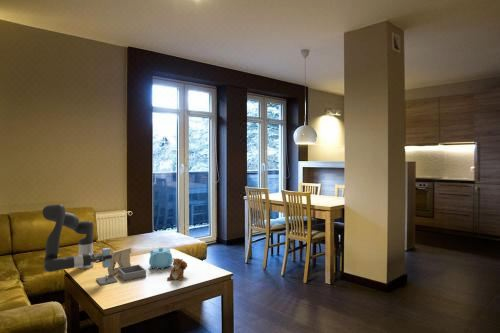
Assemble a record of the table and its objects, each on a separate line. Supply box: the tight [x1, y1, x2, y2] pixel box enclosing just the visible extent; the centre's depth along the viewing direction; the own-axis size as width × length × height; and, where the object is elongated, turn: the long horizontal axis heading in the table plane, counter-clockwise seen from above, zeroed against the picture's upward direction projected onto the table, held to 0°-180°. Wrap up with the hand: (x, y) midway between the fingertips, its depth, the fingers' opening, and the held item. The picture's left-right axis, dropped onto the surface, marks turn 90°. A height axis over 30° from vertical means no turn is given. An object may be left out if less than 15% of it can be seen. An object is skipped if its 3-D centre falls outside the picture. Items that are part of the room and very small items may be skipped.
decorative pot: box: [148, 247, 174, 270], centre depth 252 cm, size 16×16×14 cm
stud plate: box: [96, 274, 118, 286], centre depth 223 cm, size 12×10×4 cm
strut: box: [101, 247, 111, 269], centre depth 223 cm, size 4×4×12 cm
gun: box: [107, 247, 132, 276], centre depth 245 cm, size 24×3×15 cm, turn 168°
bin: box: [117, 264, 147, 282], centre depth 232 cm, size 15×14×4 cm
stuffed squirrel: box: [166, 257, 188, 282], centre depth 228 cm, size 10×14×13 cm
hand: (110, 255), depth 225 cm, fingers closed on strut, 4 cm apart
